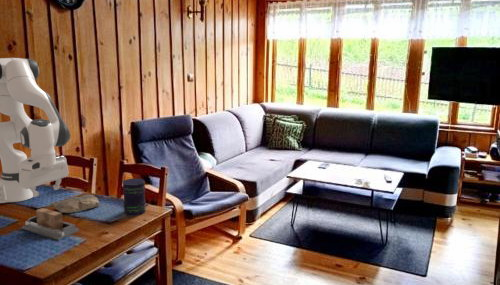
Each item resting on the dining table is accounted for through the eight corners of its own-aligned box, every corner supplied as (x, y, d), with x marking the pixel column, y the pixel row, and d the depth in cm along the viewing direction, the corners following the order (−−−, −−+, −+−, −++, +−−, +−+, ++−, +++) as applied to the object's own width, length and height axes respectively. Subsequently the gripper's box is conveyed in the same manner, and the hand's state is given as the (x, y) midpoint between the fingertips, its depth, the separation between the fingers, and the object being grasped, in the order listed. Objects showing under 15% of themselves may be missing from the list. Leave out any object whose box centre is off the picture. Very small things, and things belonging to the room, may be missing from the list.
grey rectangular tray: (22, 228, 169) (21, 221, 168) (43, 220, 178) (42, 213, 177) (58, 240, 160) (57, 232, 159) (79, 230, 168) (78, 223, 168)
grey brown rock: (58, 217, 182) (102, 207, 194) (57, 207, 181) (101, 197, 193) (50, 208, 193) (93, 199, 205) (49, 199, 192) (92, 190, 204)
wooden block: (35, 226, 169) (34, 210, 168) (43, 223, 173) (42, 207, 171) (55, 232, 164) (53, 216, 163) (63, 229, 167) (61, 213, 166)
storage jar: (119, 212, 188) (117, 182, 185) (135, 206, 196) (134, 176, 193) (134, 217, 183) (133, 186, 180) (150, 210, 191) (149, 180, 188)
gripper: (60, 153, 173) (62, 184, 176) (14, 164, 155) (18, 198, 158) (70, 155, 170) (73, 186, 173) (25, 167, 152) (28, 202, 155)
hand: (46, 192), depth 166 cm, fingers open, 8 cm apart
